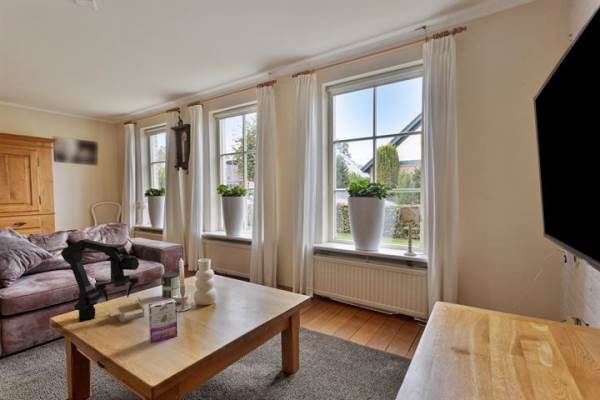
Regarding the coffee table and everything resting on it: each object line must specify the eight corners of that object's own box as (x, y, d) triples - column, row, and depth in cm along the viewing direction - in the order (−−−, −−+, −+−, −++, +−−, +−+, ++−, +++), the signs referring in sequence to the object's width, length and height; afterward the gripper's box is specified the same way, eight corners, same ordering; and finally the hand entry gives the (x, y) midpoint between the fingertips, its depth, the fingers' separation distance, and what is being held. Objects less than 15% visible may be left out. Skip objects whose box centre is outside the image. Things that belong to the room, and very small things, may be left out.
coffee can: (161, 300, 178) (161, 277, 178) (162, 295, 188) (161, 273, 187) (180, 297, 183) (179, 275, 182) (179, 292, 192) (179, 271, 192)
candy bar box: (174, 332, 138) (174, 298, 138) (177, 336, 134) (177, 301, 134) (148, 339, 132) (148, 303, 131) (150, 343, 128) (150, 307, 127)
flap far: (143, 306, 156) (141, 300, 156) (139, 302, 162) (137, 296, 162) (143, 306, 157) (141, 300, 156) (140, 302, 163) (138, 296, 162)
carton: (112, 327, 142) (112, 319, 142) (107, 317, 154) (107, 309, 154) (146, 318, 152) (146, 310, 152) (139, 310, 164) (139, 302, 164)
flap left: (119, 305, 158) (118, 302, 160) (119, 306, 158) (118, 302, 160) (136, 302, 163) (134, 298, 165) (136, 302, 163) (134, 299, 165)
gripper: (97, 276, 138) (98, 308, 139) (141, 269, 151) (141, 299, 151) (94, 271, 147) (94, 302, 147) (135, 265, 159) (136, 293, 160)
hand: (117, 299), depth 151 cm, fingers open, 9 cm apart
